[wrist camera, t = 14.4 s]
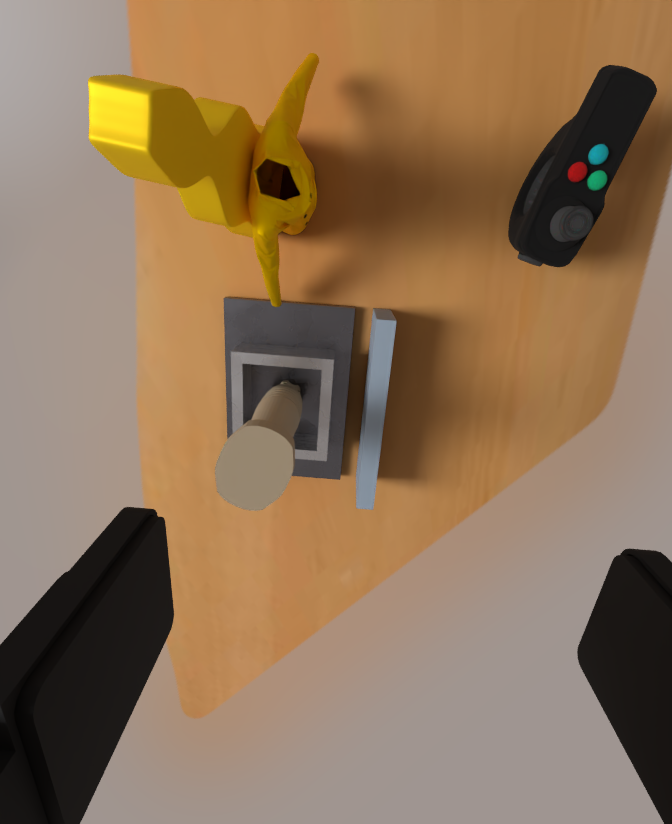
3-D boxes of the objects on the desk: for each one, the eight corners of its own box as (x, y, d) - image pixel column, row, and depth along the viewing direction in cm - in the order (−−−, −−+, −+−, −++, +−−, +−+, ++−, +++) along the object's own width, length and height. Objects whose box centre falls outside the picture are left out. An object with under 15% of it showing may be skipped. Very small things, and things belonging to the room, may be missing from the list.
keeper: (226, 296, 40) (211, 303, 35) (355, 306, 39) (355, 314, 35) (230, 465, 46) (218, 488, 42) (340, 474, 46) (339, 498, 42)
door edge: (373, 308, 39) (376, 319, 34) (390, 309, 39) (396, 320, 34) (356, 476, 46) (356, 508, 41) (370, 477, 46) (373, 509, 41)
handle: (322, 376, 41) (306, 445, 27) (296, 431, 43) (269, 520, 29) (277, 355, 40) (236, 414, 27) (252, 411, 43) (203, 493, 29)
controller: (483, 251, 37) (525, 254, 28) (556, 90, 33) (636, 31, 24) (527, 268, 38) (583, 277, 28) (605, 112, 33) (703, 62, 24)
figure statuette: (303, 306, 40) (251, 375, 19) (220, 288, 39) (77, 338, 19) (343, 78, 33) (328, -185, 13) (244, 54, 33) (63, -256, 12)
